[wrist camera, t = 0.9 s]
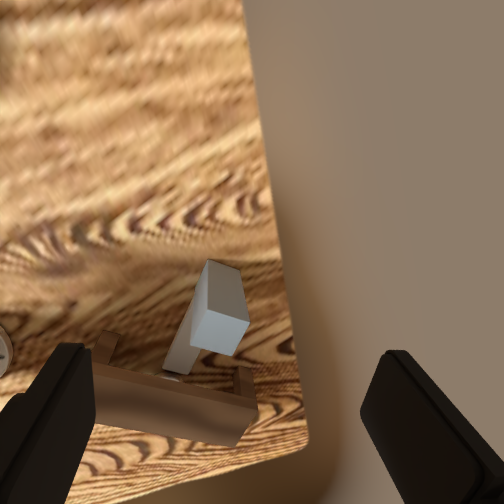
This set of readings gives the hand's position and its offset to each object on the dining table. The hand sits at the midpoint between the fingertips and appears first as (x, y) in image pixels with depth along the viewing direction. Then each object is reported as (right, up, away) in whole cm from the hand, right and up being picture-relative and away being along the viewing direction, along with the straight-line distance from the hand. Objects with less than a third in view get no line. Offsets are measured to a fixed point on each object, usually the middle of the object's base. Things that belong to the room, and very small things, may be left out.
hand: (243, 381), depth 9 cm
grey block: (-6, -4, +27) cm, 28 cm away
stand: (-10, -12, +30) cm, 34 cm away
